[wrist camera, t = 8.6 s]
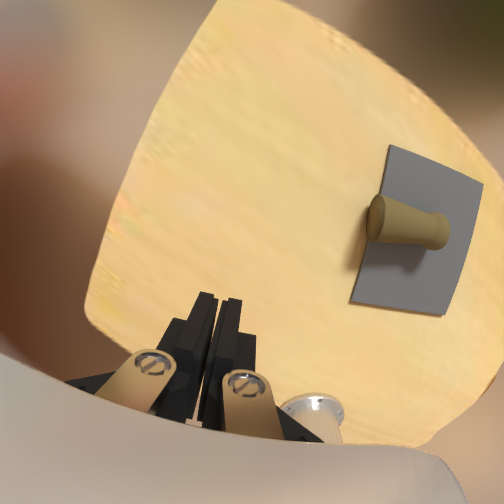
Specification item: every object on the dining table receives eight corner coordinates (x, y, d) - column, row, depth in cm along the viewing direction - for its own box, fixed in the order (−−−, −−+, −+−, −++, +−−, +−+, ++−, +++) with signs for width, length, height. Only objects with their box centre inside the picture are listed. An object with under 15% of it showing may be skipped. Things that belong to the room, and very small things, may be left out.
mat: (443, 313, 41) (445, 315, 40) (350, 299, 40) (351, 301, 40) (481, 183, 35) (483, 184, 34) (389, 144, 34) (391, 144, 34)
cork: (363, 240, 37) (429, 252, 37) (380, 244, 31) (452, 258, 31) (370, 195, 37) (435, 211, 37) (388, 191, 31) (459, 211, 31)
